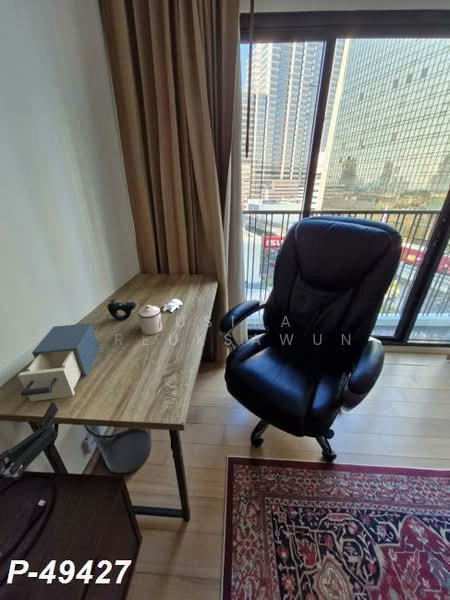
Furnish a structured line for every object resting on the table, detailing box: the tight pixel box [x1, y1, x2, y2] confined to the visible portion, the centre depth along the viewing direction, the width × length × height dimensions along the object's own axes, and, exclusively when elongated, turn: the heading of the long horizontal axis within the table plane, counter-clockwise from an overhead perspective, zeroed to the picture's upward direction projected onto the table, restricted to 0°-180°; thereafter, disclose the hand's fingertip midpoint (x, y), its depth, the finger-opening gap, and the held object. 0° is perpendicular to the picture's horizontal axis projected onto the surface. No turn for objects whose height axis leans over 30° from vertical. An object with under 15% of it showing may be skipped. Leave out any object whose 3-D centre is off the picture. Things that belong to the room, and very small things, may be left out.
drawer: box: [18, 350, 82, 402], centre depth 75 cm, size 19×12×10 cm, turn 9°
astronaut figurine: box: [162, 298, 183, 313], centre depth 126 cm, size 9×12×3 cm
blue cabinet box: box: [31, 322, 100, 378], centre depth 86 cm, size 15×13×12 cm
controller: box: [106, 298, 137, 321], centre depth 114 cm, size 4×12×10 cm, turn 96°
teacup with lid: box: [137, 304, 163, 336], centre depth 107 cm, size 12×9×12 cm
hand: (24, 409), depth 61 cm, fingers open, 13 cm apart
